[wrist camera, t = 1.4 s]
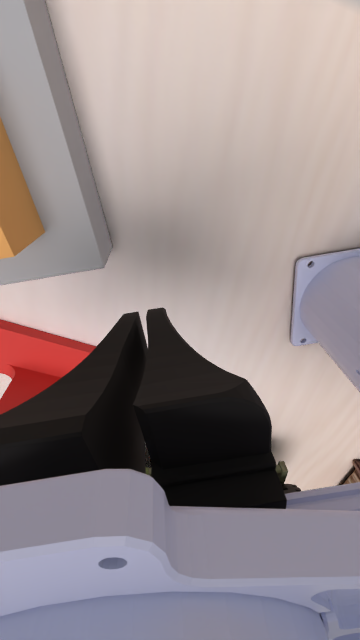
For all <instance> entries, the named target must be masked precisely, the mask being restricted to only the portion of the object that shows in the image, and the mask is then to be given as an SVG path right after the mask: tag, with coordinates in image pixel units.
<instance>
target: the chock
mask: <svg viewBox="0 0 360 640" xmlns="http://www.w3.org/2000/svg"><path fill="white" fill-rule="evenodd" d="M44 233H45V230H44V227H43V225H42V222H41V220H40V217H39V215H38V212H37V209H36V207H35V204H34V202H33V199H32V197H31V194H30V192H29V189H28V186H27V184H26V181H25V179H24V176H23V174H22V171H21V168H20V166H19V163H18V161H17V158H16V156H15V153H14V150H13V148H12V145H11V143H10V140H9V138H8V135H7V133H6V130H5V127H4V125H3V122H2V120H1V117H0V259H4V258H10V257H15V256H16V255H17V254H18V253H20V252H21V251H22V250H23V249H25V248H26V247H27V246H28V245H30V244H31V243H32V242H34V241H35V240H36V239H37V238H39V237H40V236H41V235H42V234H44Z"/></svg>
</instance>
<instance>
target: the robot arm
mask: <svg viewBox="0 0 360 640" xmlns="http://www.w3.org/2000/svg"><path fill="white" fill-rule="evenodd" d="M311 261H312V264H311V265H310V266H307V265H308V263H309V262H311ZM146 320H147V332H148V347H147V344H146V340H145V336H144V332H143V328H142V324H141V320H140V316H139V313H138V312H133V313H127V314H124V315H123V316H122V317H121V318H120V319H119V321H118V322H117V323H116V324H115V326H114V327H113V328H112V329H111V331H110V332H109V333H108V334H107V336H106V337H105V338H104V339H103V340H102V341H101V342H100V343H99V345H98V346H97V347H96V348H95V349H94V350H93V351H92V352H91V353H90V354H89V355H88V356H87V357H86V358H85V359H84V360H83V361H82V362H81V363H79V364H78V365H77V366H76V367H75V368H74V369H72V370H71V371H70V372H69V373H67V374H66V375H65V376H63V377H62V378H60V379H59V380H58V381H56V382H55V383H54V384H52V385H51V386H49V387H48V388H46V389H45V390H43V391H42V392H40V393H39V394H37V395H35V396H34V397H32V398H30V399H29V400H27V401H25V402H24V403H22V404H20V405H18V406H16V407H14V408H12V409H10V410H9V411H7V412H5V413H3V414H1V415H0V640H360V482H357V483H351V484H344V485H338V486H332V487H325V488H319V489H313V490H306V491H300V492H294V493H287V494H285V493H284V491H283V488H282V485H281V483H280V480H279V477H278V475H277V472H276V462H275V460H274V457H273V454H272V452H271V432H272V426H271V420H270V416H269V414H268V412H267V410H266V408H265V406H264V404H263V403H262V401H261V399H260V398H259V396H258V395H257V393H256V392H255V390H254V389H253V388H252V386H251V385H250V384H249V382H248V381H247V380H246V379H244V378H242V377H239V376H237V375H234V374H232V373H229V372H227V371H225V370H223V369H221V368H219V367H217V366H216V365H214V364H212V363H211V362H209V361H208V360H206V359H205V358H203V357H202V356H201V355H200V354H198V353H197V352H196V351H195V350H194V349H193V348H192V347H190V346H189V345H188V344H187V343H186V342H185V340H184V339H183V338H182V337H181V336H180V335H179V333H178V332H177V331H176V329H175V328H174V327H173V325H172V324H171V322H170V320H169V318H168V316H167V314H166V309H164V308H157V309H151V310H148V312H147V316H146ZM303 338H304V339H303ZM301 339H303V340H302V341H301ZM290 341H291V343H292V344H293V345H294V346H300V345H306V344H312V343H319V344H320V345H321V346H322V347H323V349H324V350H325V351H326V352H327V353H328V355H329V356H330V357H331V358H332V359H333V361H334V362H335V363H336V364H337V365H338V367H339V368H340V369H341V370H342V371H343V373H344V374H345V375H346V376H347V377H348V379H349V380H350V381H351V382H352V384H353V385H354V386H355V387H356V388H357V390H358V391H359V392H360V248H358V249H352V250H346V251H340V252H334V253H328V254H322V255H316V256H310V257H304V258H301V259H299V260H298V261H297V262H296V267H295V281H294V296H293V310H292V324H291V339H290ZM145 443H146V446H147V449H148V452H149V455H150V458H151V476H150V475H147V474H146V465H145Z"/></svg>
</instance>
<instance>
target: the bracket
mask: <svg viewBox="0 0 360 640" xmlns="http://www.w3.org/2000/svg"><path fill="white" fill-rule="evenodd" d="M95 348H96V347H95V346H92V345H88V344H85V343H81V342H78V341H74V340H71V339H67V338H64V337H60V336H57V335H53V334H50V333H46V332H43V331H39V330H36V329H32V328H29V327H25V326H21V325H18V324H14V323H11V322H7V321H4V320H0V373H3V374H6V375H8V376H10V377H11V378H12V381H11V383H10V384H9V386H8V388H7V389H6V391H5V393H4V394H3V396H2V398H1V399H0V415H1V414H3V413H5V412H7V411H9V410H10V409H12V408H14V407H16V406H18V405H20V404H22V403H24V402H25V401H27V400H29V399H30V398H32V397H34V396H35V395H37V394H39V393H40V392H42V391H43V390H45V389H46V388H48V387H49V386H51V385H52V384H54V383H55V382H56V381H58V380H59V379H60V378H62V377H63V376H65V375H66V374H67V373H69V372H70V371H71V370H72V369H74V368H75V367H76V366H77V365H78V364H79V363H81V362H82V361H83V360H84V359H85V358H86V357H87V356H88V355H89V354H90V353H91V352H92V351H93V350H94V349H95Z"/></svg>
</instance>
